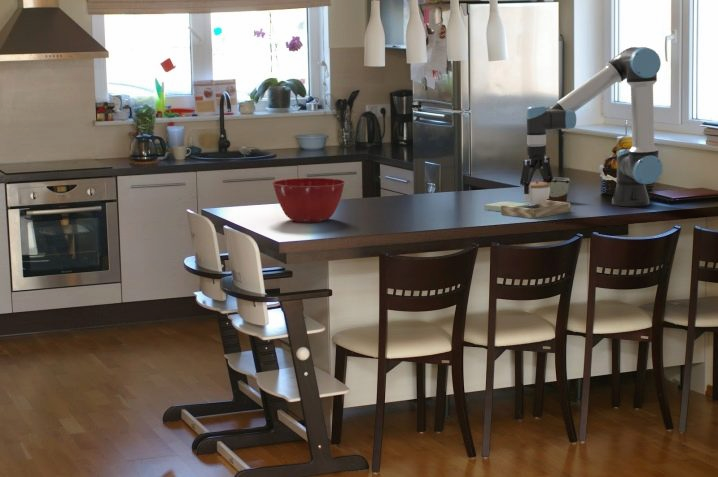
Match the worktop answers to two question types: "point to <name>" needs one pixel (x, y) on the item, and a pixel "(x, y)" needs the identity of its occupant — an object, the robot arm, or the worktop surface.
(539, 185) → the lidded jar
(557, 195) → the food container
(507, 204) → the trivet
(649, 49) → the robot arm
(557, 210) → the cradle
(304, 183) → the mixing bowl
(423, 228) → the worktop surface
